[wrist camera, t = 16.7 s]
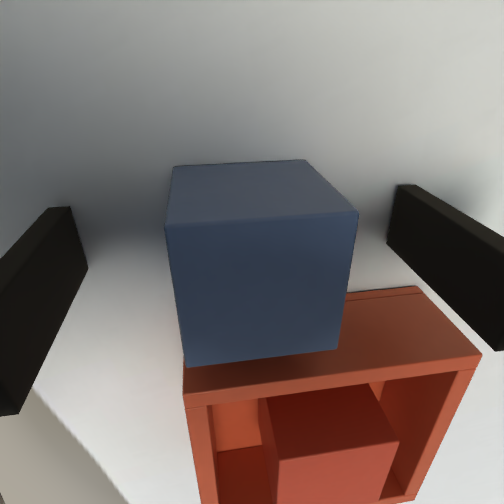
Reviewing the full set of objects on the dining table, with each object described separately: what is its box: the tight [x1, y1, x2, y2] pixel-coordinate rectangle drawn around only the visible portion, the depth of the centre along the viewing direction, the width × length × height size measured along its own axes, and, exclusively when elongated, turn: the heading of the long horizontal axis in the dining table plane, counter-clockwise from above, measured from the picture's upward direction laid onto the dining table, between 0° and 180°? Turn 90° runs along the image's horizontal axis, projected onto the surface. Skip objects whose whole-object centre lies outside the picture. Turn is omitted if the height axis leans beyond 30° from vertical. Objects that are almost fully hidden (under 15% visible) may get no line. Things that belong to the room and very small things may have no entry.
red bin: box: [182, 286, 482, 504], centre depth 18 cm, size 12×12×5 cm
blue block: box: [164, 160, 359, 368], centre depth 12 cm, size 5×5×5 cm
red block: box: [258, 383, 399, 504], centre depth 17 cm, size 5×5×5 cm
